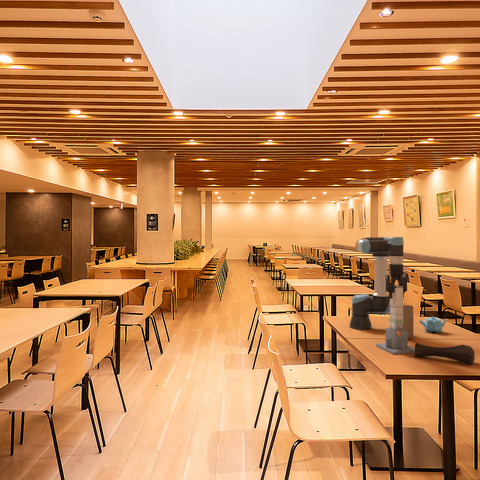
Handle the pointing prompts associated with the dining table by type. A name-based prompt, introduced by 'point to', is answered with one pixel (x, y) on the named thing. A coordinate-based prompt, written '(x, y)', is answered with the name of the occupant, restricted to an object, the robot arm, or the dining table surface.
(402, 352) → the stand base
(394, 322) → the column
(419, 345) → the dark brown bone
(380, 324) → the dining table surface
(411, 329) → the wooden block
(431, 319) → the teapot
